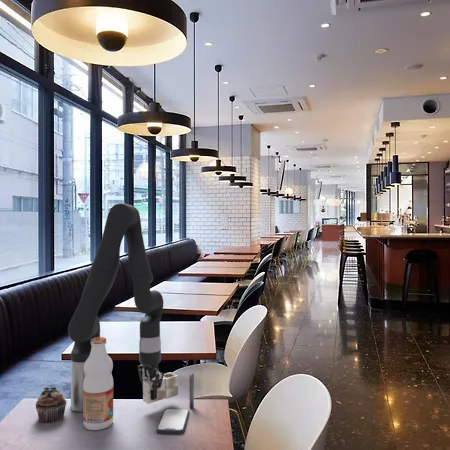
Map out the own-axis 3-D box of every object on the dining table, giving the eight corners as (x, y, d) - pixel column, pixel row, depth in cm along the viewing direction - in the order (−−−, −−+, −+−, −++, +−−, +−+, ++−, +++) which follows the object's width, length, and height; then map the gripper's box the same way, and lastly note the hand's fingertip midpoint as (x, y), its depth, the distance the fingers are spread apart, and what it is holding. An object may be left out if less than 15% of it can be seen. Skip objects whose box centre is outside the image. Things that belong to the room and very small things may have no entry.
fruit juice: (79, 422, 139) (80, 337, 139) (108, 415, 144) (108, 333, 144) (87, 434, 131) (87, 344, 131) (117, 426, 136) (117, 339, 136)
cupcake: (66, 421, 140) (66, 391, 140) (34, 426, 136) (34, 395, 136) (66, 409, 149) (66, 381, 149) (36, 414, 145) (36, 385, 145)
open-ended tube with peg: (170, 391, 156) (170, 372, 156) (178, 395, 152) (178, 375, 152) (141, 400, 148) (141, 380, 148) (149, 404, 144) (149, 384, 144)
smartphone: (164, 413, 147) (155, 435, 131) (164, 408, 147) (155, 429, 131) (189, 413, 147) (183, 435, 131) (189, 408, 147) (183, 430, 131)
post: (188, 407, 150) (188, 373, 150) (192, 406, 151) (192, 372, 151) (191, 408, 149) (191, 375, 149) (194, 407, 150) (194, 374, 150)
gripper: (170, 350, 144) (170, 400, 144) (148, 342, 155) (149, 389, 155) (151, 355, 139) (152, 407, 139) (130, 346, 150) (130, 394, 150)
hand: (150, 397), depth 147 cm, fingers closed on open-ended tube with peg, 3 cm apart
